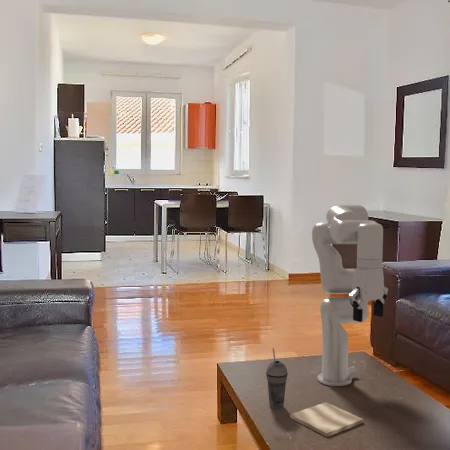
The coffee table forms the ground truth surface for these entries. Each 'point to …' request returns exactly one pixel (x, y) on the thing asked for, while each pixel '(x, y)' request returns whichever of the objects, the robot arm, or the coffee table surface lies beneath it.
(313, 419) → the birch board
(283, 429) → the coffee table surface
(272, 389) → the beverage cup
